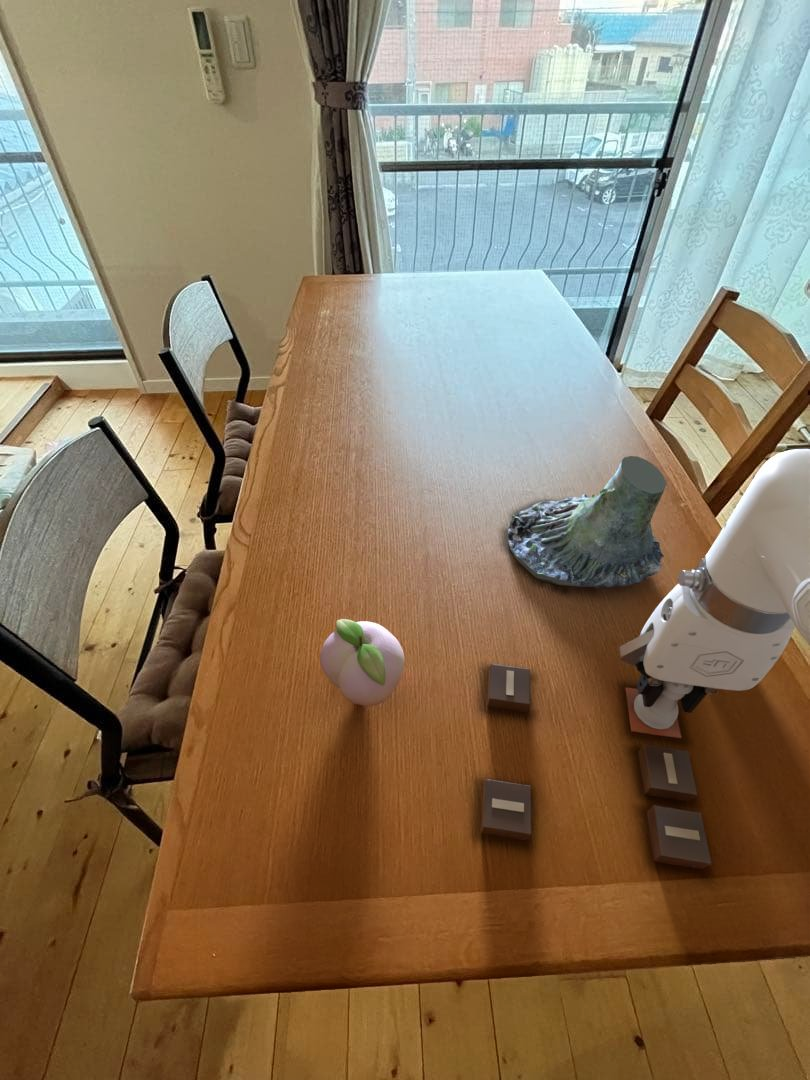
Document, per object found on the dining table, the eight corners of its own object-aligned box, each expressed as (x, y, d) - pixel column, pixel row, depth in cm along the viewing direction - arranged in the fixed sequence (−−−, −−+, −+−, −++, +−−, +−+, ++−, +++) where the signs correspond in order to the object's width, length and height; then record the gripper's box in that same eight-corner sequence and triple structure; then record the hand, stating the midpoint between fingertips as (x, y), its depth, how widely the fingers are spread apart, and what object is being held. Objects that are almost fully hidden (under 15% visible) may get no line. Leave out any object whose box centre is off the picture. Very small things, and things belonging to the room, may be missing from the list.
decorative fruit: (420, 689, 63) (424, 640, 56) (365, 737, 59) (361, 691, 52) (366, 637, 67) (363, 586, 60) (312, 679, 64) (302, 629, 56)
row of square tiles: (707, 870, 51) (717, 864, 49) (649, 860, 51) (657, 854, 50) (671, 694, 63) (679, 685, 61) (625, 688, 63) (631, 678, 62)
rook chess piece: (656, 688, 63) (683, 650, 57) (683, 723, 60) (713, 686, 55) (623, 701, 62) (647, 663, 56) (649, 737, 59) (677, 701, 53)
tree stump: (528, 487, 88) (585, 396, 74) (642, 552, 85) (722, 469, 72) (486, 559, 76) (545, 465, 62) (617, 637, 73) (707, 557, 60)
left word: (527, 841, 52) (531, 834, 51) (480, 833, 53) (483, 826, 51) (526, 677, 64) (530, 668, 63) (488, 672, 64) (491, 662, 63)
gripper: (648, 613, 44) (587, 718, 57) (870, 641, 42) (755, 743, 55) (635, 544, 49) (582, 656, 62) (833, 567, 47) (735, 676, 61)
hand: (664, 696), depth 59 cm, fingers closed on rook chess piece, 3 cm apart
